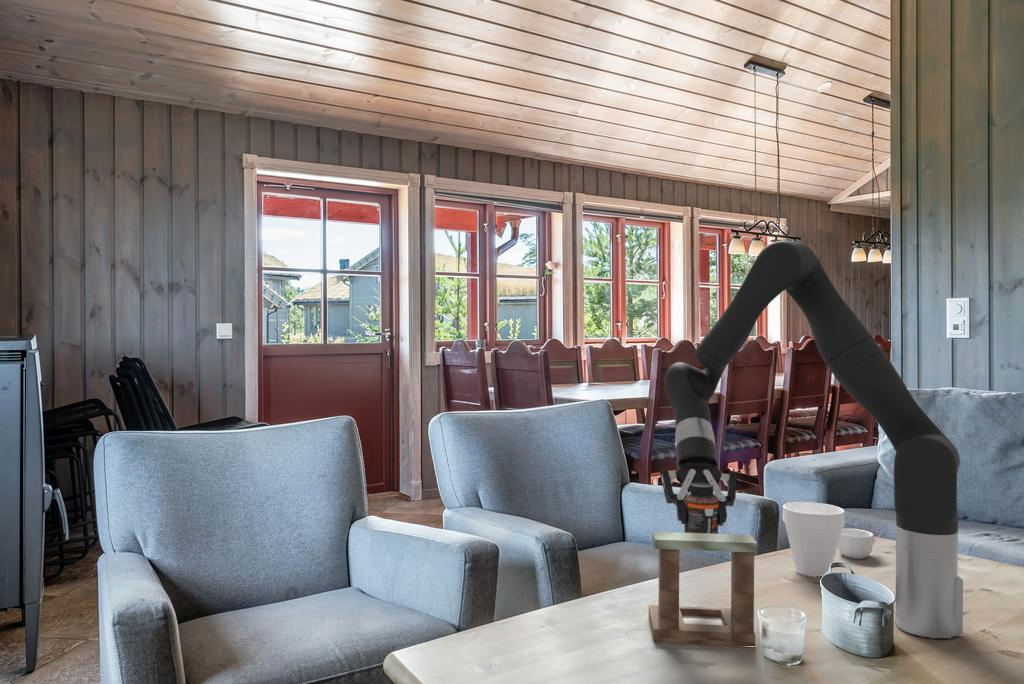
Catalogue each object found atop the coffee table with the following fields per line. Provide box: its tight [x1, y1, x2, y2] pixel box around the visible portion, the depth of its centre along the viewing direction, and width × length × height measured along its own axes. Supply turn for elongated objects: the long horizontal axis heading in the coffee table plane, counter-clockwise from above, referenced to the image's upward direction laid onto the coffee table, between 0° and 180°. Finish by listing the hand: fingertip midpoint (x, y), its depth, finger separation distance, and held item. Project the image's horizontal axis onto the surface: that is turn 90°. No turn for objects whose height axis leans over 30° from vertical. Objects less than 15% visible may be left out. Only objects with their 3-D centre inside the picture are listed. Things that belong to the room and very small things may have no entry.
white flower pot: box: [782, 501, 846, 577], centre depth 157 cm, size 12×12×14 cm
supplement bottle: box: [683, 483, 719, 534], centre depth 134 cm, size 6×6×11 cm
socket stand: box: [648, 531, 758, 648], centre depth 124 cm, size 16×12×17 cm
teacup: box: [837, 528, 876, 560], centre depth 169 cm, size 10×8×5 cm
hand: (702, 522), depth 132 cm, fingers closed on supplement bottle, 6 cm apart
